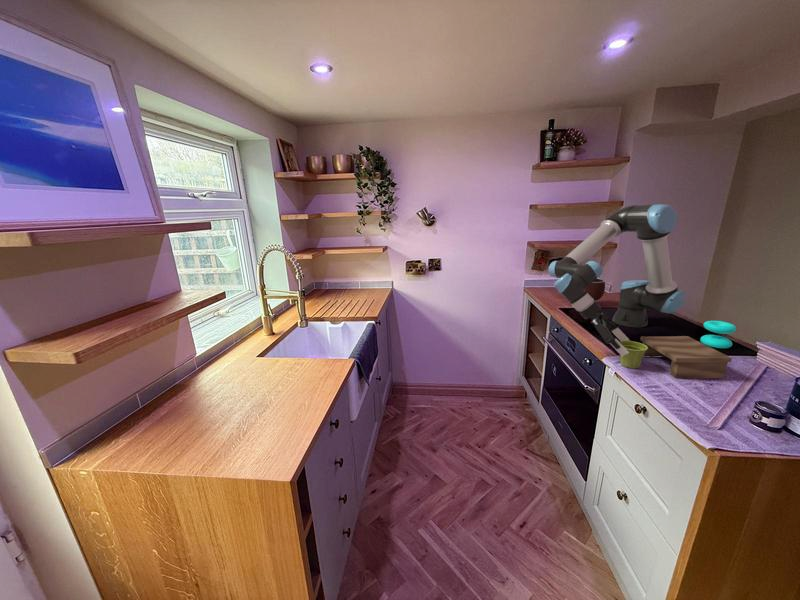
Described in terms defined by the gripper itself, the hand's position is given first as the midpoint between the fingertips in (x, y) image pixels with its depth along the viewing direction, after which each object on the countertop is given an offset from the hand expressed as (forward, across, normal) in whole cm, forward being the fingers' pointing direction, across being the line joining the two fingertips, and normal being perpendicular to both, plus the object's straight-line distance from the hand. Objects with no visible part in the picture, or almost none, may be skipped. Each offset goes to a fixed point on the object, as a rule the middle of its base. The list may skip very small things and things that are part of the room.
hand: (626, 347), depth 123 cm
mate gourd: (-9, -79, -20) cm, 82 cm away
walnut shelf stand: (+18, -10, +7) cm, 21 cm away
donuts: (+28, -40, +18) cm, 52 cm away
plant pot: (+7, -1, -4) cm, 8 cm away
